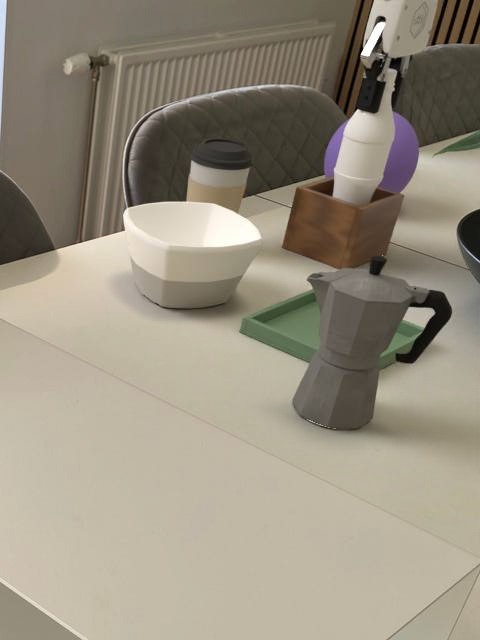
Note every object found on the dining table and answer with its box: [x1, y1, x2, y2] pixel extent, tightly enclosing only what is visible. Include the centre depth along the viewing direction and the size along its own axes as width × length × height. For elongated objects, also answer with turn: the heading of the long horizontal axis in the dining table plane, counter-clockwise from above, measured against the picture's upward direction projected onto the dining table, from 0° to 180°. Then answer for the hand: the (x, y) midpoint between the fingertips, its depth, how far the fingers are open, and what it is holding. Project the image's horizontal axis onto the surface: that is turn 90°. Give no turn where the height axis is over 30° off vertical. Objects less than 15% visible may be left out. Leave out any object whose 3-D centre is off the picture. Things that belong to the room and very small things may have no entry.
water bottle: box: [332, 68, 397, 206], centre depth 146 cm, size 7×7×25 cm
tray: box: [239, 288, 425, 370], centre depth 130 cm, size 18×18×2 cm
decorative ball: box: [323, 110, 420, 194], centre depth 168 cm, size 15×15×15 cm
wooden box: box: [281, 176, 405, 270], centre depth 152 cm, size 12×12×9 cm
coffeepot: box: [291, 256, 453, 431], centre depth 109 cm, size 15×9×18 cm, turn 69°
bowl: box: [122, 201, 263, 309], centre depth 136 cm, size 18×18×9 cm
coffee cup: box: [185, 137, 253, 214], centre depth 148 cm, size 9×9×15 cm
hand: (375, 107), depth 141 cm, fingers closed on water bottle, 3 cm apart
